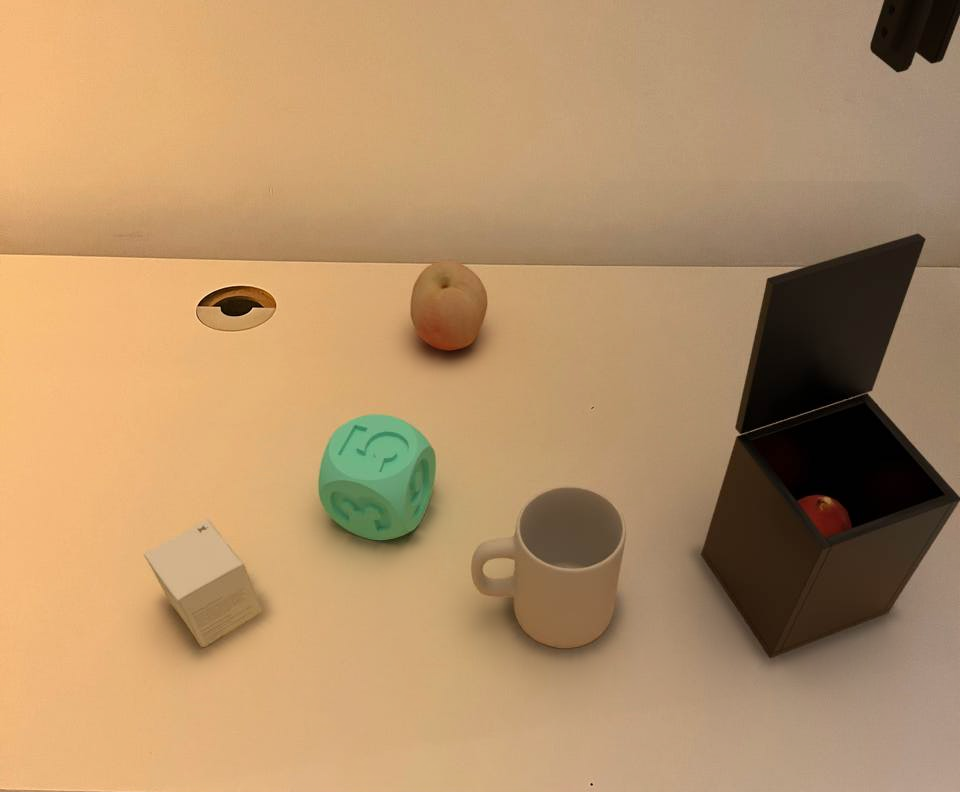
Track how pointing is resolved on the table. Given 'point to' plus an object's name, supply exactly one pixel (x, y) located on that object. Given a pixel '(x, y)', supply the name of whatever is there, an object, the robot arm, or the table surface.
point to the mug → (559, 565)
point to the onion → (826, 514)
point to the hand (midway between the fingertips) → (905, 54)
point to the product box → (204, 582)
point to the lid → (825, 332)
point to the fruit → (448, 305)
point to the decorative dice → (377, 476)
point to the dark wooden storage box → (798, 542)
